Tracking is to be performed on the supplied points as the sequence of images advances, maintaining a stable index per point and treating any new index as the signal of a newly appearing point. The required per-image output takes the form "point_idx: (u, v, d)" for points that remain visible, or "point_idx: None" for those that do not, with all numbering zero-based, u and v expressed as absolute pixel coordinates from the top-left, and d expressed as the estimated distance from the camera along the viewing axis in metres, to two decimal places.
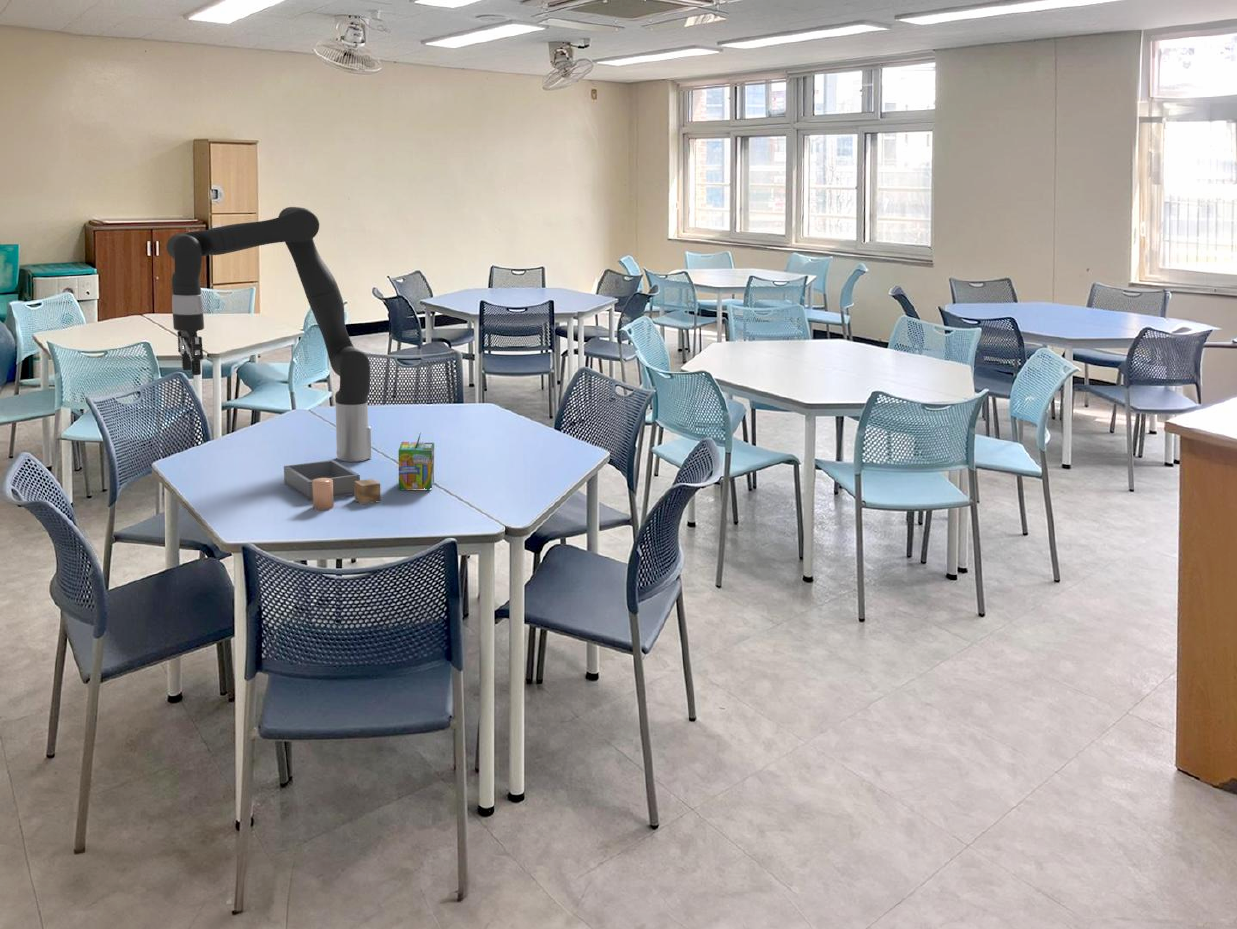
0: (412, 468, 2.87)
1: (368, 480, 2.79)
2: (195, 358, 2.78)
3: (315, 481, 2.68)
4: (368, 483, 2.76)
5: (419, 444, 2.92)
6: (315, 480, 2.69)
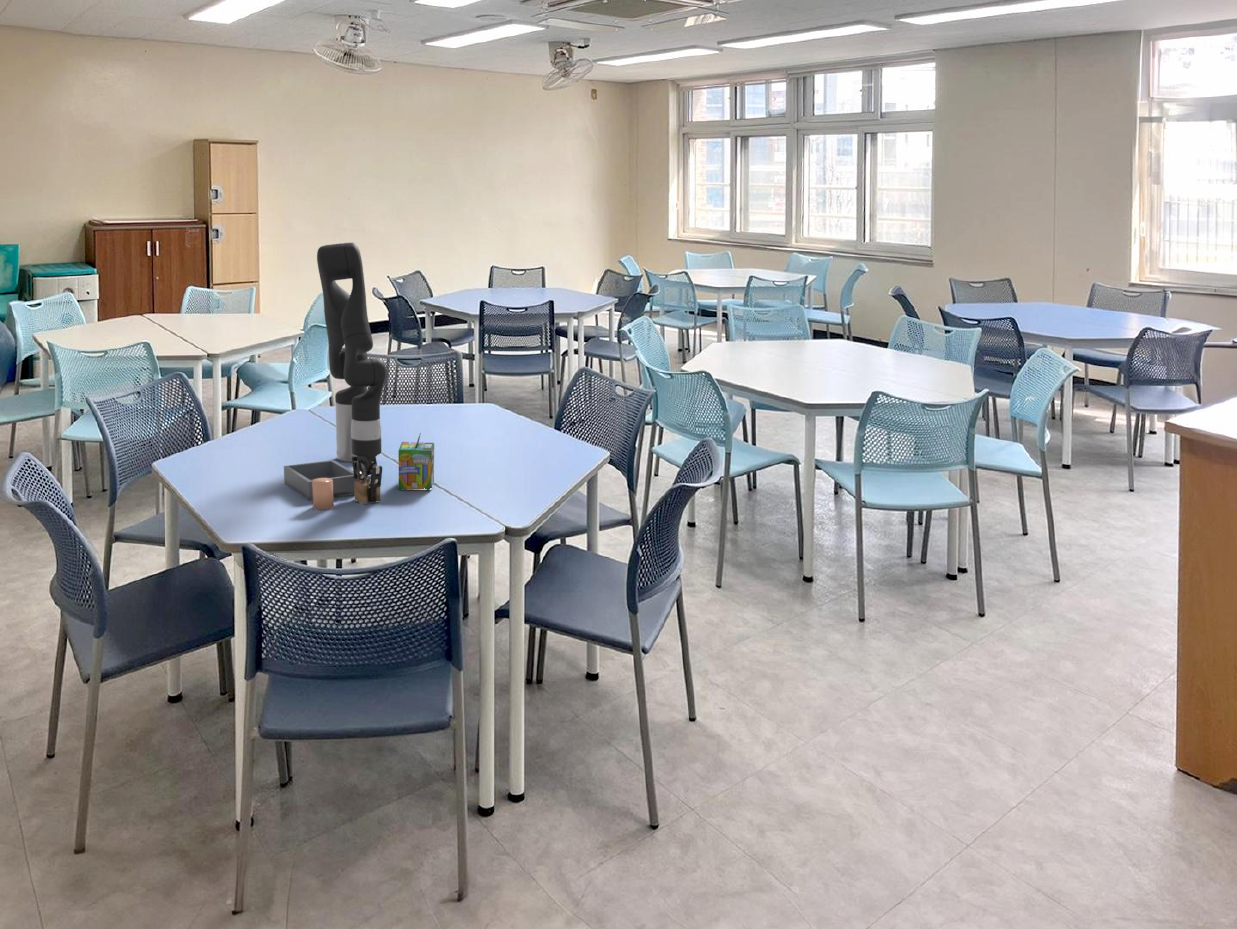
0: (412, 468, 2.87)
1: None
2: (373, 486, 2.72)
3: (315, 481, 2.68)
4: None
5: (419, 444, 2.92)
6: (315, 480, 2.69)
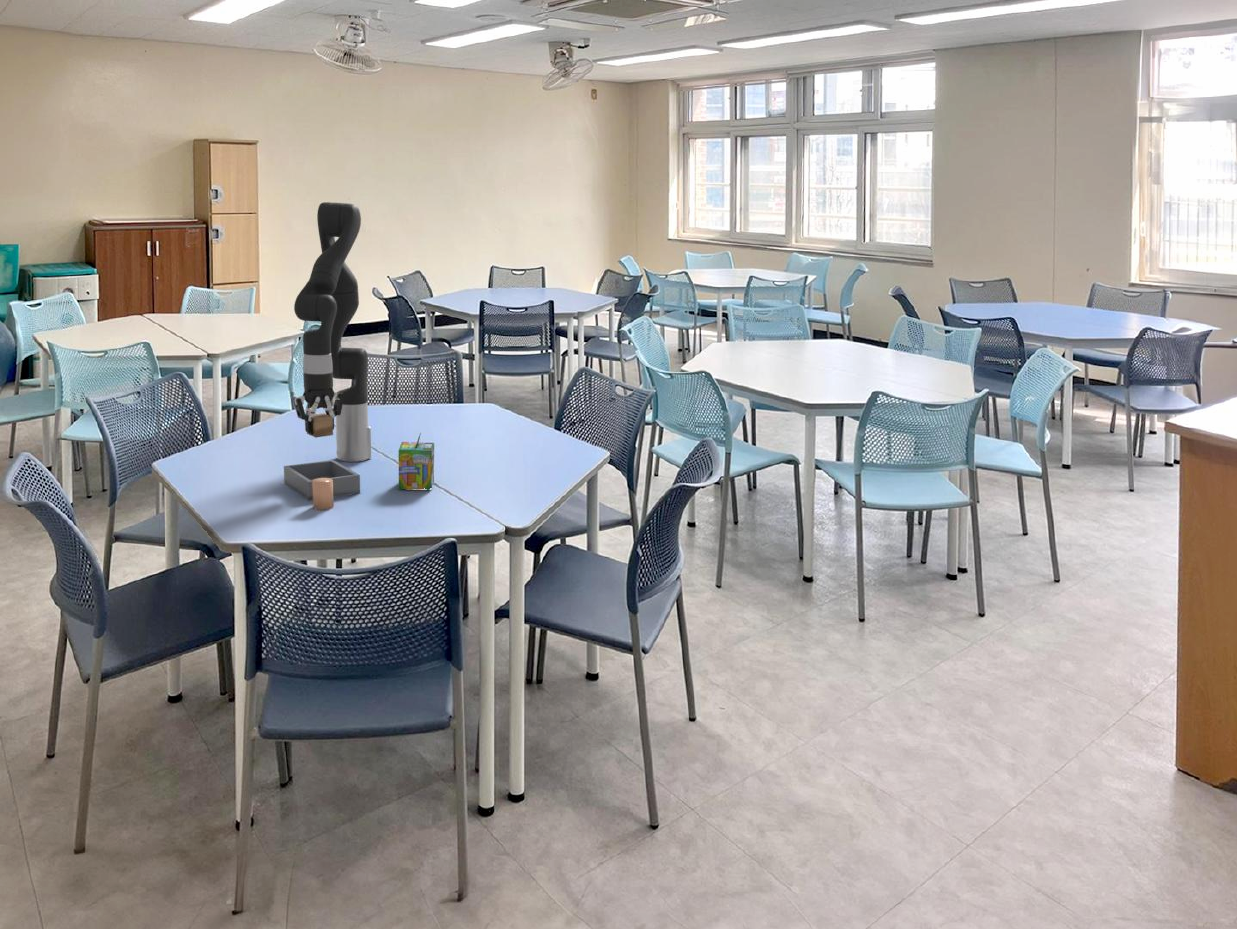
0: (412, 468, 2.87)
1: (327, 416, 2.84)
2: (298, 417, 2.81)
3: (315, 481, 2.68)
4: (314, 416, 2.83)
5: (419, 444, 2.92)
6: (315, 480, 2.69)
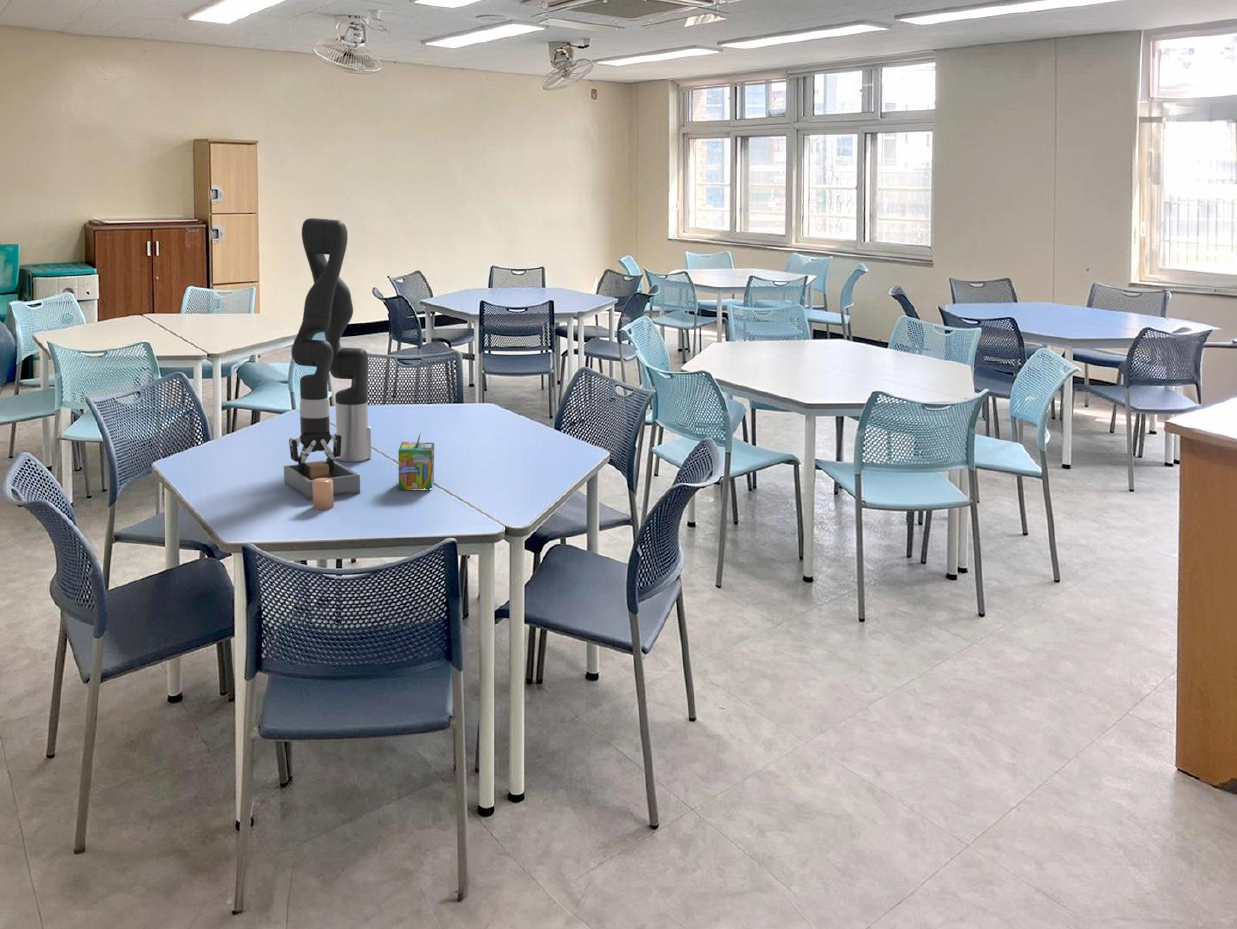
0: (412, 468, 2.87)
1: (324, 464, 2.88)
2: (292, 458, 2.84)
3: (315, 481, 2.68)
4: (311, 464, 2.88)
5: (419, 444, 2.92)
6: (315, 480, 2.69)
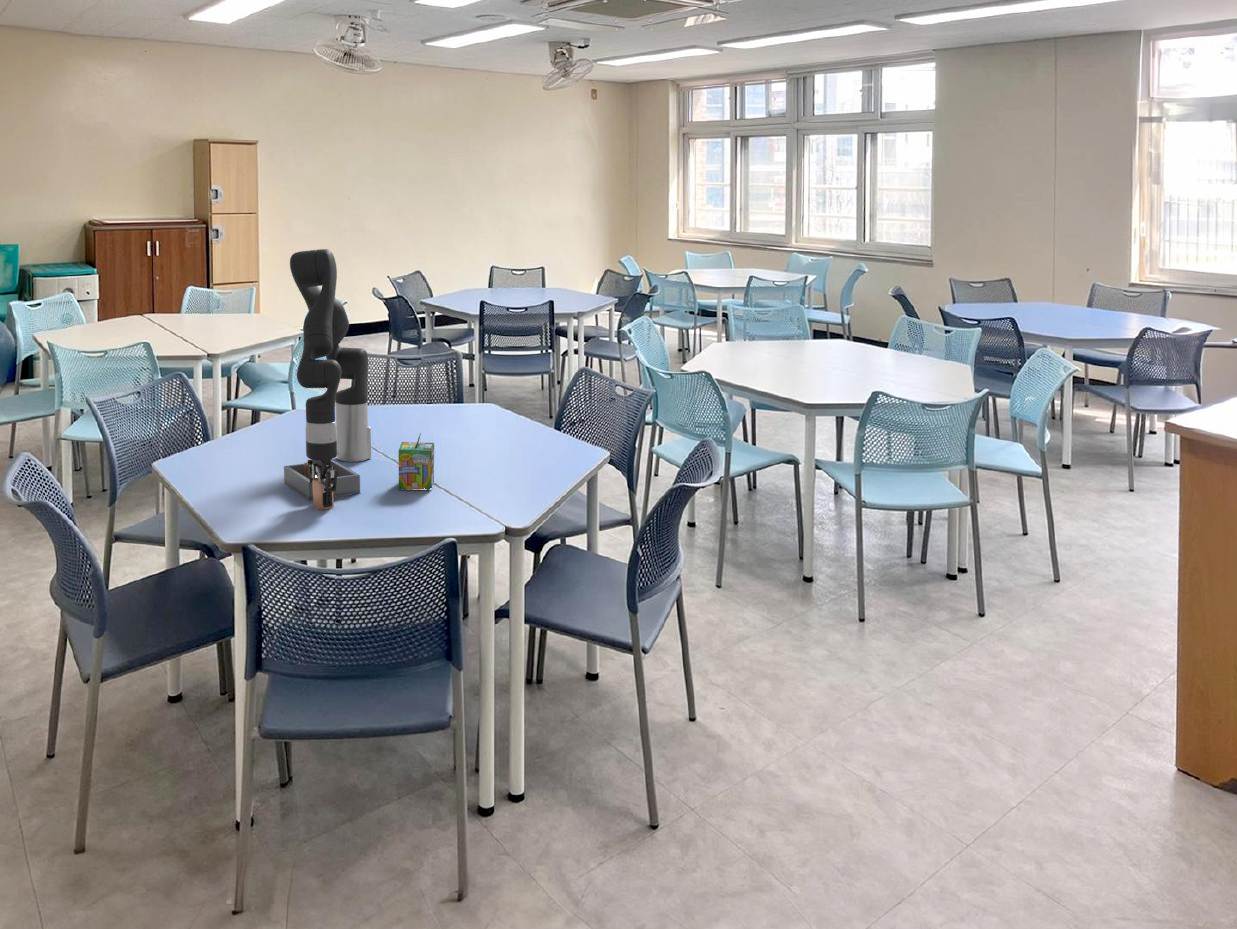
0: (412, 468, 2.87)
1: None
2: (328, 491, 2.65)
3: (315, 481, 2.68)
4: None
5: (419, 444, 2.92)
6: (315, 480, 2.69)
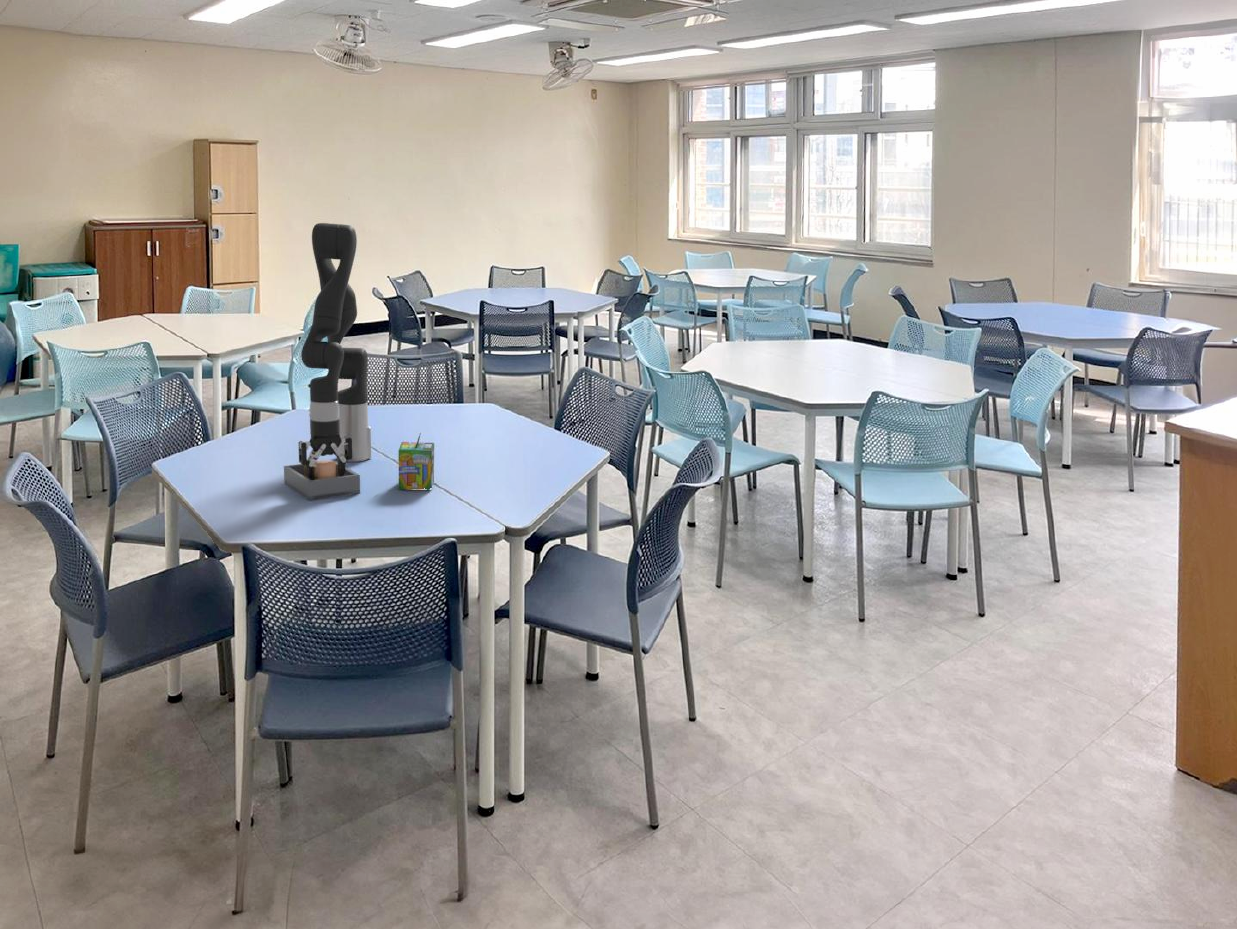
0: (412, 468, 2.87)
1: None
2: (300, 462, 2.79)
3: (323, 461, 2.84)
4: None
5: (419, 444, 2.92)
6: (326, 460, 2.84)
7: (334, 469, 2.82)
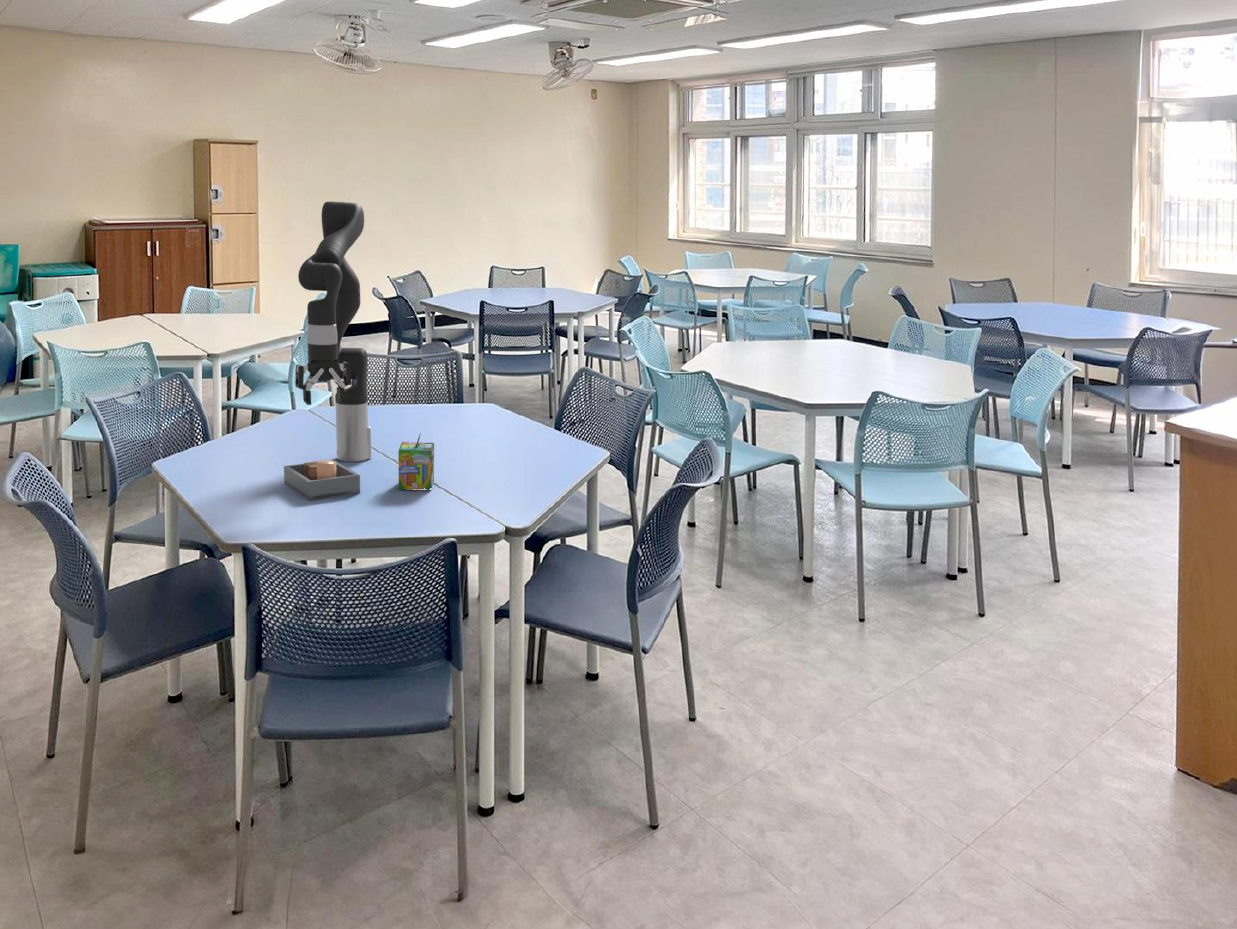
0: (412, 468, 2.87)
1: None
2: (296, 386, 2.73)
3: (323, 460, 2.84)
4: (311, 464, 2.88)
5: (419, 444, 2.92)
6: (327, 460, 2.84)
7: (335, 469, 2.82)
